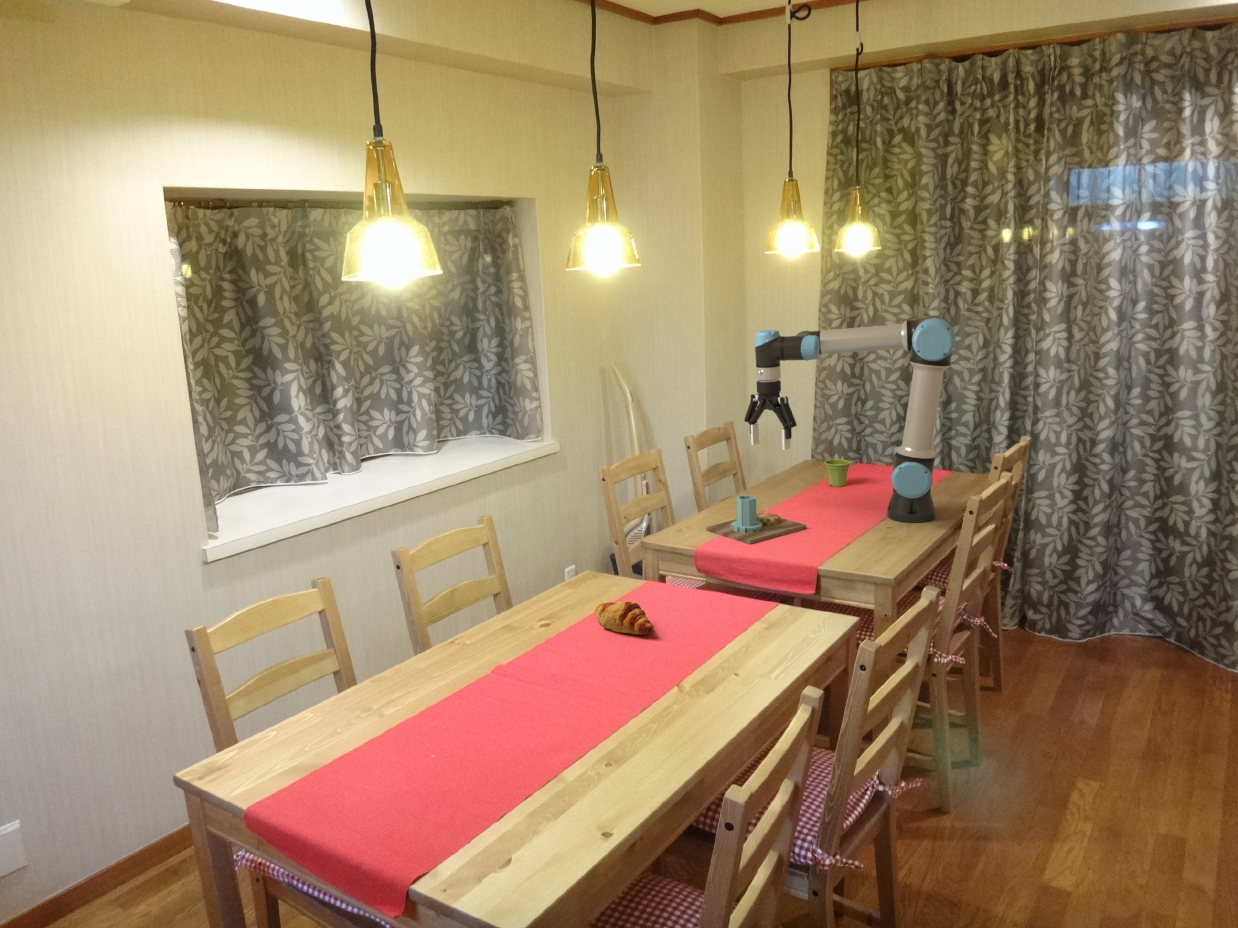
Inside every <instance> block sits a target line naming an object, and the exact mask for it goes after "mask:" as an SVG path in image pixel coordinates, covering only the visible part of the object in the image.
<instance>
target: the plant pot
mask: <svg viewBox="0 0 1238 928" xmlns="http://www.w3.org/2000/svg"><path fill="white" fill-rule="evenodd" d="M823 463H824V464H825V469H826V472H827V473H826V474H827V482H828V485H829V486H830V487H831V486H832V487H834V488H836V487H839V488H840V487H841V488H842V487H844V486H846V484H847V477H848V471H849V467H850V465H851V463H852V462H851V461H850V460H846V459H837V458H836V459H827V460H825V461H824V462H823Z"/></svg>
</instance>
